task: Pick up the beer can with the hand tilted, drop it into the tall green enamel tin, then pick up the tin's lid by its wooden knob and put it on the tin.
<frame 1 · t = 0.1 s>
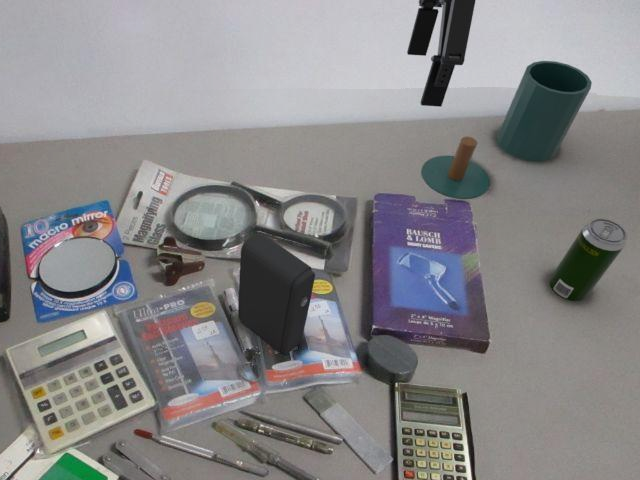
hand: (423, 78, 84), 20 cm above the table, tool pointing down, fingers open, 13 cm apart
tin lid: (454, 178, 101), point 1 cm above the table
beer can: (565, 291, 87), on the table
tin: (524, 147, 109), on the table
black rectangular block: (269, 334, 80), on the table
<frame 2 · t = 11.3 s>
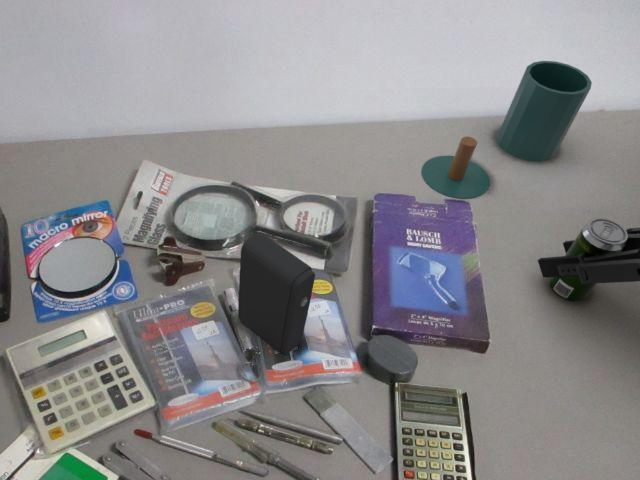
hand: (554, 259, 86), 4 cm above the table, tool tilted 45°, fingers closed on beer can, 5 cm apart
beer can: (565, 291, 87), on the table, touching gripper
everything else where it was.
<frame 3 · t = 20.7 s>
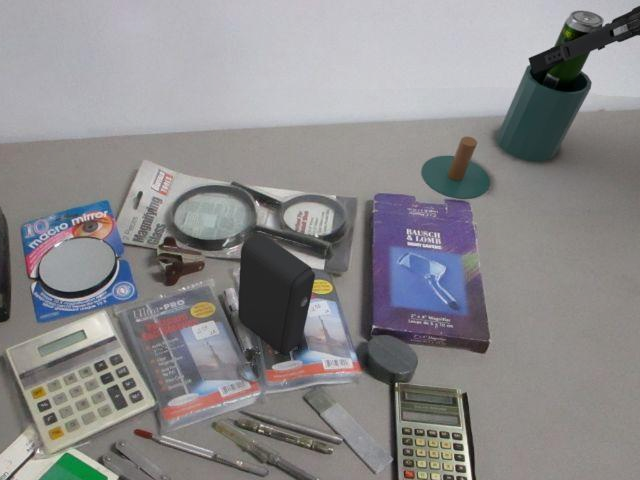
hand: (543, 60, 99), 15 cm above the table, tool tilted 45°, fingers closed on beer can, 5 cm apart
beer can: (552, 90, 100), point 12 cm above the table, touching gripper
everything else where it was.
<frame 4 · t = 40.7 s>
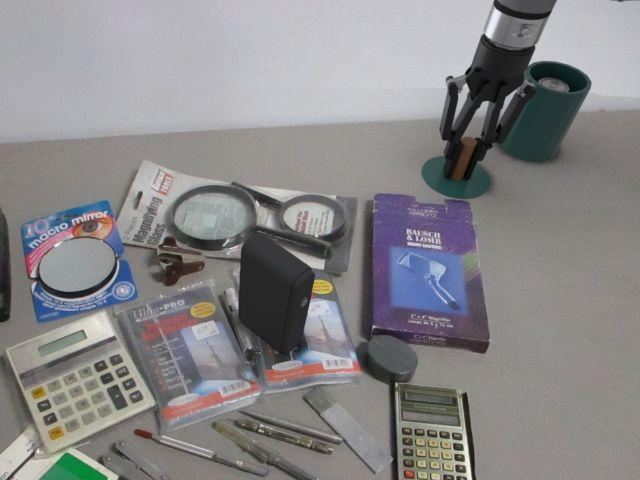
hand: (456, 173, 101), 2 cm above the table, tool pointing down, fingers closed on tin lid, 3 cm apart
tin lid: (454, 178, 101), point 1 cm above the table, touching gripper
beer can: (524, 146, 108), resting on tin
everything else where it was.
when the fingers open (15 cm above the table, at t = 46.3 s): tin lid stays where it is, resting on tin.
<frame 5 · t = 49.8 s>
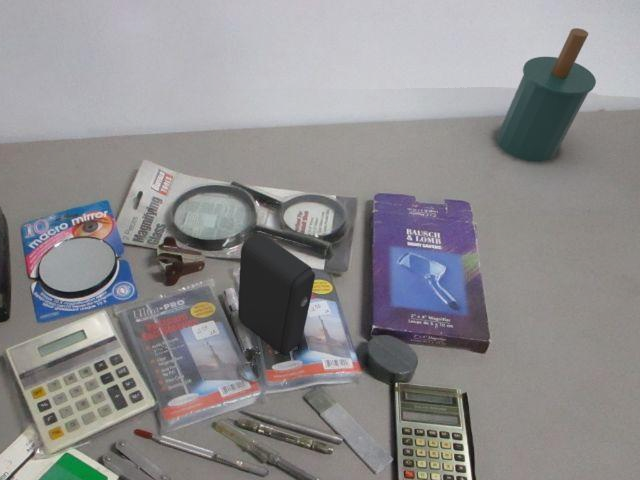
tin lid: (558, 76, 98), point 14 cm above the table, touching tin
everything else where it was.
at the end: beer can 0.3 cm off-centre in the tin, point 0.3 cm above the tin's base; tin lid 0.0 cm off-centre on the tin, point 14.0 cm above the tin's base; tin lid tilted 0° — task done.
